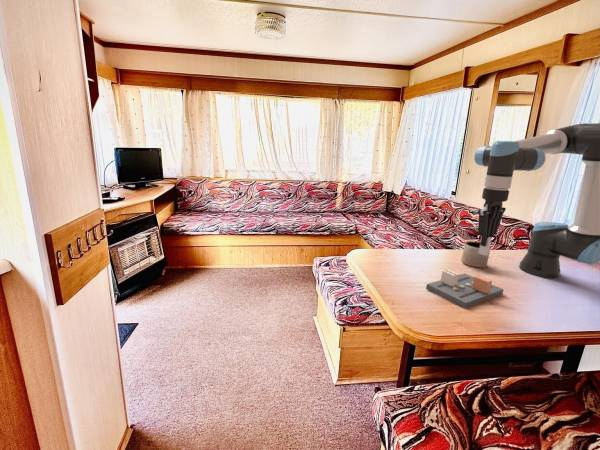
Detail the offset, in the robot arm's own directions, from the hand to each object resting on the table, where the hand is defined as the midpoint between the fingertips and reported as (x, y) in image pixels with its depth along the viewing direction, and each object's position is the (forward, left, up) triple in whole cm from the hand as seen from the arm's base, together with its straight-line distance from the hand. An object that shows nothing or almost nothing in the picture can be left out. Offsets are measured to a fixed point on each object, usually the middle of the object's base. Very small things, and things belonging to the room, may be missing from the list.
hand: (483, 254), depth 113 cm
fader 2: (-3, -2, -15) cm, 15 cm away
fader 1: (+7, -7, -15) cm, 18 cm away
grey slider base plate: (+1, -5, -17) cm, 18 cm away
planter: (-19, -35, -17) cm, 43 cm away
